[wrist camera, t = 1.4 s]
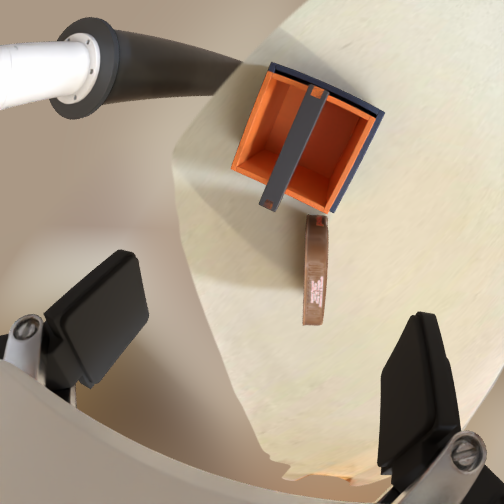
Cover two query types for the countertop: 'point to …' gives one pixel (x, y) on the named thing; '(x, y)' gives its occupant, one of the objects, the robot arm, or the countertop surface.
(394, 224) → the countertop surface
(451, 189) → the countertop surface
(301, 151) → the basket
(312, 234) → the tin
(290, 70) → the bin outer
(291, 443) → the countertop surface
